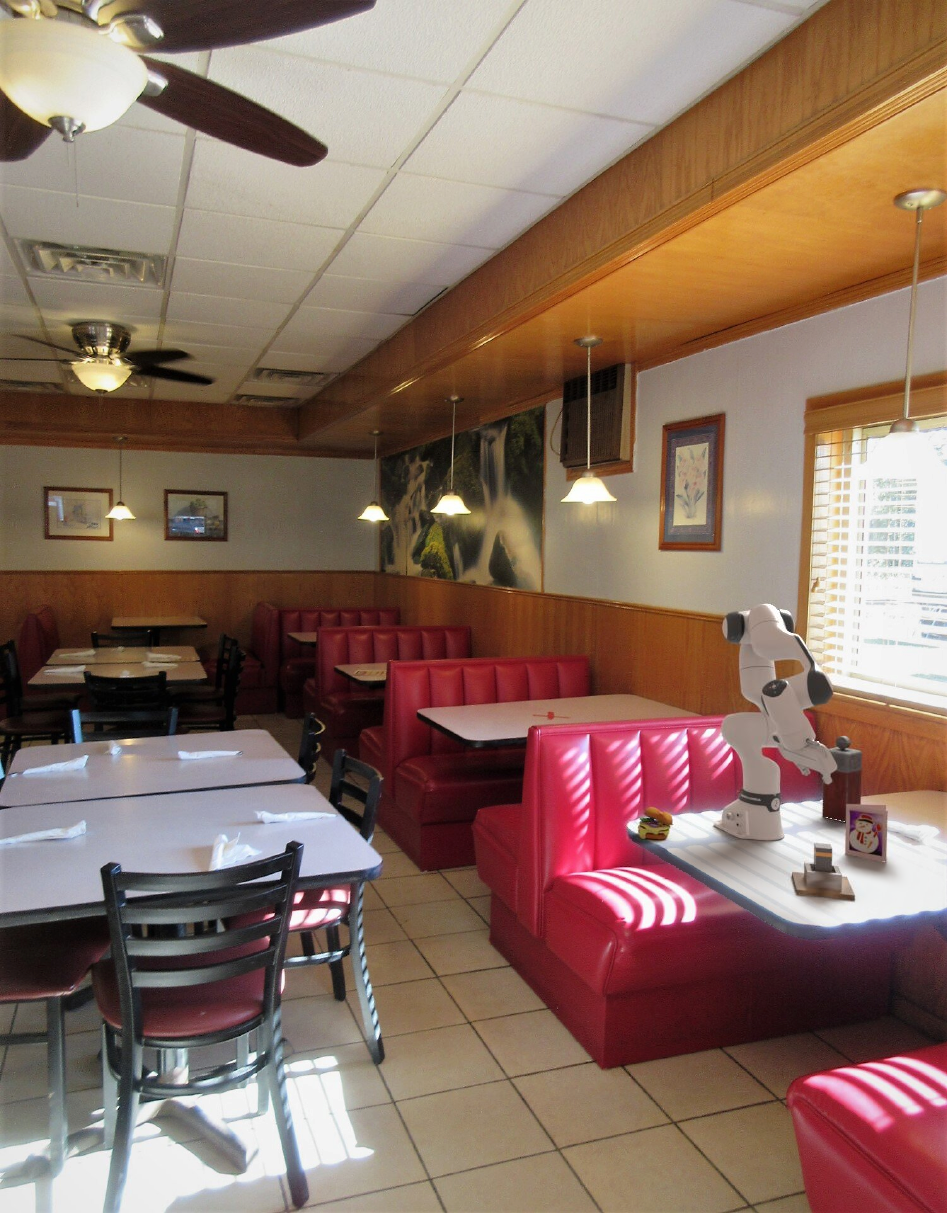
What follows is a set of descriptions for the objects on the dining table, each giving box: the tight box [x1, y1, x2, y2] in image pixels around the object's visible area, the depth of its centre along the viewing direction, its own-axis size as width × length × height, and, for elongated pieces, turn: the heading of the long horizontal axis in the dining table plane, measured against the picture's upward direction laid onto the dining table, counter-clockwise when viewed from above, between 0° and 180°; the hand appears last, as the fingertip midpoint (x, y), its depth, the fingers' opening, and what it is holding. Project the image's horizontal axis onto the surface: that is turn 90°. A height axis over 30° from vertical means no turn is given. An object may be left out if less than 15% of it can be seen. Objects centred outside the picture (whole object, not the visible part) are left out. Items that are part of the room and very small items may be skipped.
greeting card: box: [844, 803, 889, 863], centre depth 257 cm, size 11×7×15 cm, turn 51°
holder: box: [791, 861, 856, 901], centre depth 231 cm, size 14×14×5 cm
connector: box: [813, 842, 833, 873], centre depth 231 cm, size 4×4×10 cm
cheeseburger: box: [637, 806, 674, 840], centre depth 276 cm, size 10×11×10 cm
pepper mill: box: [821, 735, 863, 822], centre depth 297 cm, size 9×11×28 cm
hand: (817, 778), depth 240 cm, fingers open, 8 cm apart
